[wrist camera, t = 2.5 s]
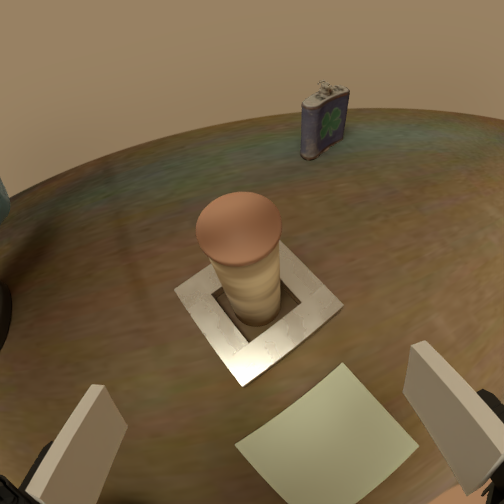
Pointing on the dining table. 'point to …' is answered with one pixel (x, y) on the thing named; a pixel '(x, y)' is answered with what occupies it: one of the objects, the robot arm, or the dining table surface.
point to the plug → (244, 253)
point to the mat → (329, 444)
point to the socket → (272, 340)
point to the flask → (323, 119)
